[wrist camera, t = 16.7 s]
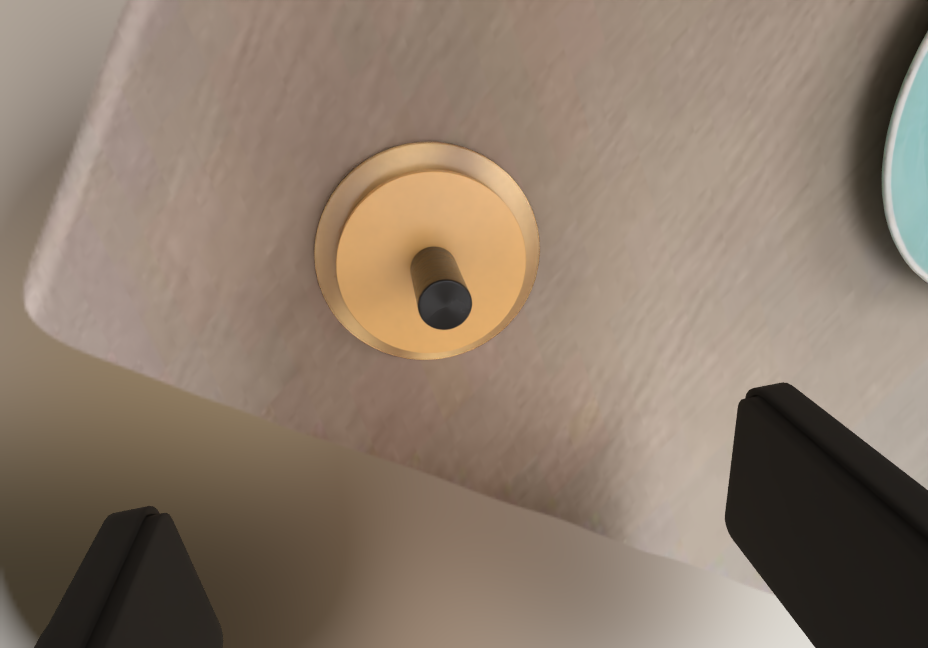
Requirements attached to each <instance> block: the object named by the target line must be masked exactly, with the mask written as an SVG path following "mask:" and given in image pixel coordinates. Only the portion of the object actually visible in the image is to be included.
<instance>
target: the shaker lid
mask: <svg viewBox="0 0 928 648" xmlns="http://www.w3.org/2000/svg"><path fill="white" fill-rule="evenodd" d="M525 270H526V248H525V243H524V238H523V235H522V232H521V229H520V226H519V224H518V222H517V220H516V218H515V216H514V214H513V213H512V212H511V210H510V209H509V207H508V206H507V205H506V204H505V202H504V201H503V200H502V199H501V198H500V197H499V196H498V195H497V194H496V193H495V192H493V191H492V190H491V189H490V188H489V187H487V186H486V185H484V184H482V183H481V182H479V181H478V180H476V179H473V178H471V177H469V176H467V175H464V174H460V173H457V172H453V171H447V170H435V169H426V170H418V171H412V172H409V173H405V174H401V175H399V176H396V177H394V178H391V179H389V180H387V181H385V182H384V183H382V184H380V185H379V186H377V187H376V188H374V189H373V190H372V191H371V192H369V193H368V194H367V195H366V196H365V197H364V198H363V199H362V200H361V201H360V202H359V203H358V204H357V206H356V207H355V208H354V210H353V211H352V212H351V214H350V216H349V217H348V219H347V221H346V223H345V225H344V227H343V230H342V233H341V235H340V239H339V243H338V248H337V256H336V274H337V280H338V285H339V289H340V292H341V295H342V298H343V300H344V302H345V304H346V306H347V308H348V310H349V311H350V312H351V314H352V315H353V317H354V318H355V319H356V321H357V322H358V323H359V324H360V325H361V326H362V327H363V328H364V329H365V330H367V331H368V332H369V333H370V334H371V335H373V336H374V337H376V338H377V339H379V340H381V341H382V342H384V343H386V344H389V345H391V346H393V347H396V348H399V349H402V350H406V351H411V352H417V353H440V352H446V351H451V350H455V349H459V348H462V347H464V346H467V345H469V344H472V343H473V342H475V341H477V340H479V339H481V338H482V337H484V336H485V335H487V334H488V333H489V332H491V331H492V330H493V329H494V328H495V327H496V326H497V325H499V324H500V323H501V321H502V320H503V319H504V318H505V317H506V316H507V314H508V313H509V311H510V310H511V308H512V307H513V305H514V304H515V302H516V300H517V298H518V296H519V293H520V290H521V288H522V285H523V281H524V276H525Z"/></svg>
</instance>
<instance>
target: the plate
mask: <svg viewBox="0 0 928 648" xmlns="http://www.w3.org/2000/svg"><path fill="white" fill-rule="evenodd" d="M882 197H883V205H884V212H885V217H886V221H887V224H888V228H889V231H890V234H891V236H892V239H893V241H894V243H895V245H896V247H897V249H898V251H899V252H900V254H901V256H902V257H903V259H904V261H905V262H906V263H907V264H908V266H909V267H910V268H911V269H912V270H913V271H914V272H915V273H916V274H917V275H918V276H919V277H920V278H921V279H923V280H924V281H925V282H926V283H928V31H927V33H926V35H925V37H924V39H923V40H922V42H921V44H920V46H919V48H918V50H917V52H916V54H915V56H914V58H913V60H912V62H911V65H910V67H909V69H908V71H907V74H906V76H905V78H904V80H903V83H902V86H901V89H900V92H899V94H898V97H897V99H896V103H895V106H894V109H893V112H892V115H891V119H890V123H889V127H888V132H887V137H886V142H885V148H884V155H883V166H882Z"/></svg>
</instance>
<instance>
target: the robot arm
mask: <svg viewBox="0 0 928 648" xmlns="http://www.w3.org/2000/svg"><path fill="white" fill-rule="evenodd" d="M725 522H726V526H727V529H728V532H729V534H730V536H731V537H732V539H733V540H734V542H735V543H736V544H737V546H738V547H739V548H740V550H741V551H742V552H743V554H744V555H745V556H746V557H747V559H748V560H749V561H750V563H751V564H752V565H753V567H754V568H755V569H756V571H757V572H758V573H759V574H760V576H761V577H762V578H763V580H764V581H765V582H766V584H767V585H768V586H769V588H770V589H771V590H772V591H773V593H774V594H775V595H776V597H777V598H778V599H779V601H780V602H781V603H782V604H783V606H784V607H785V608H786V610H787V611H788V612H789V614H790V615H791V616H792V618H793V619H794V620H795V622H796V623H797V624H798V625H799V627H800V628H801V629H802V631H803V632H804V633H805V634H806V636H807V637H808V639H809V640H810V641H811V642H812V644H813V645H814V646H815V648H928V490H927V489H925V488H924V487H923V486H921V485H920V484H919V483H918V482H916V481H915V480H914V479H912V478H911V477H910V476H909V475H907V474H906V473H905V472H903V471H902V470H901V469H899V468H898V467H897V466H896V465H894V464H893V463H892V462H890V461H889V460H888V459H887V458H885V457H884V456H883V455H881V454H880V453H879V452H877V451H876V450H875V449H874V448H872V447H871V446H870V445H868V444H867V443H866V442H865V441H863V440H862V439H861V438H859V437H858V436H857V435H856V434H854V433H853V432H852V431H850V430H849V429H848V428H846V427H845V426H844V425H843V424H841V423H840V422H839V421H837V420H836V419H835V418H834V417H832V416H831V415H830V414H828V413H827V412H826V411H825V410H823V409H822V408H821V407H819V406H818V405H817V404H815V403H814V402H813V401H812V400H810V399H809V398H808V397H806V396H805V395H804V394H803V393H801V392H800V391H799V390H797V389H796V388H795V387H793V386H792V385H790V384H788V383H777V384H772V385H767V386H762V387H757V388H753V389H750V390H749V391H748V392H747V394H746V398H745V399H743V400H741V401H740V402H739V405H738V411H737V419H736V427H735V436H734V444H733V453H732V461H731V469H730V478H729V486H728V494H727V503H726V511H725ZM34 648H223V635H222V630H221V626H220V623H219V621H218V619H217V617H216V615H215V612H214V610H213V608H212V606H211V604H210V602H209V599H208V597H207V595H206V593H205V590H204V588H203V586H202V584H201V581H200V579H199V577H198V575H197V573H196V570H195V568H194V566H193V564H192V562H191V560H190V557H189V555H188V553H187V551H186V548H185V546H184V544H183V542H182V539H181V537H180V535H179V533H178V531H177V528H176V526H175V524H174V522H173V520H172V518H171V516H170V515H169V514H167V513H162V514H160V513H159V512H158V510H157V509H156V508H155V507H153V506H147V507H142V508H137V509H132V510H127V511H122V512H117V513H113V514H111V515H109V516H108V517H107V518H106V520H105V521H104V523H103V524H102V526H101V528H100V530H99V532H98V534H97V536H96V537H95V540H94V541H93V543H92V545H91V547H90V548H89V551H88V552H87V554H86V556H85V558H84V560H83V561H82V563H81V565H80V567H79V569H78V571H77V572H76V574H75V576H74V578H73V580H72V582H71V584H70V585H69V587H68V589H67V591H66V593H65V595H64V597H63V598H62V600H61V602H60V604H59V606H58V608H57V609H56V611H55V613H54V615H53V617H52V619H51V621H50V622H49V624H48V626H47V627H46V629H45V630H44V631H43V633H42V634H41V636H40V638H39V639H38V641H37V643H36V645H35V647H34Z"/></svg>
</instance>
